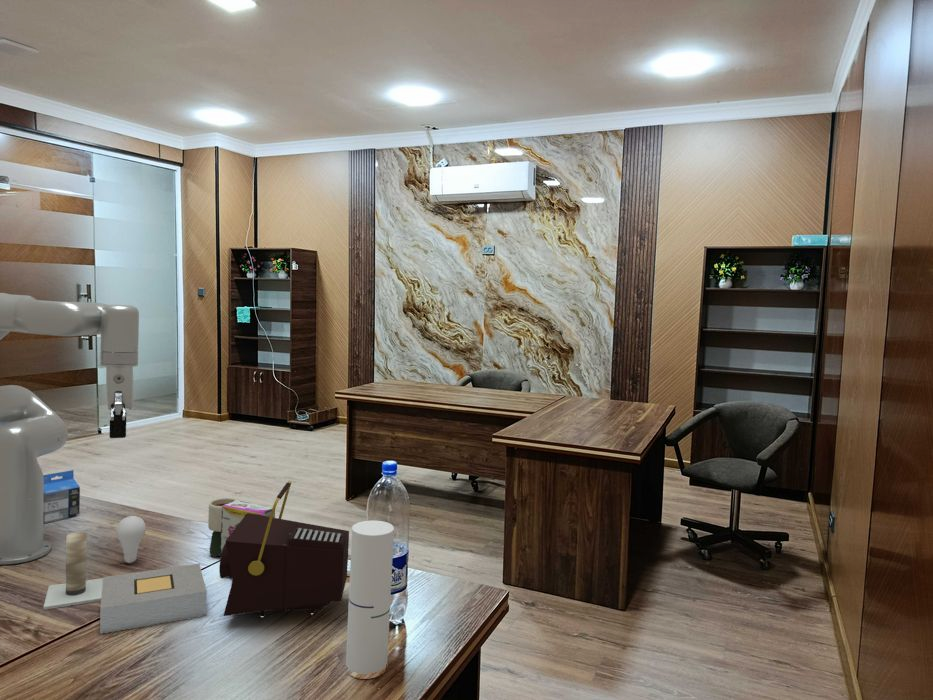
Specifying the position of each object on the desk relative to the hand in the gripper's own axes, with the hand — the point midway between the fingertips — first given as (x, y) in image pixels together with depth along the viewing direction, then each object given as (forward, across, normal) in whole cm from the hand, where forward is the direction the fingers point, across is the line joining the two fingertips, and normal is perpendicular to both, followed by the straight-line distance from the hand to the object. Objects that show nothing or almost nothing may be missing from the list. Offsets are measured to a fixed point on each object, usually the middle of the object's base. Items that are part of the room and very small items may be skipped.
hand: (118, 433), depth 142 cm
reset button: (+28, -27, -7) cm, 40 cm away
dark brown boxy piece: (+31, -37, -31) cm, 57 cm away
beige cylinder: (+30, -15, +7) cm, 34 cm away
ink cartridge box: (+31, +36, +14) cm, 49 cm away
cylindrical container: (+31, -63, -39) cm, 80 cm away
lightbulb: (+31, -2, -3) cm, 31 cm away
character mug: (+31, -4, -23) cm, 38 cm away
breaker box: (+30, -27, -7) cm, 41 cm away
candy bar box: (+31, -19, -26) cm, 44 cm away
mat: (+30, -15, +7) cm, 35 cm away
